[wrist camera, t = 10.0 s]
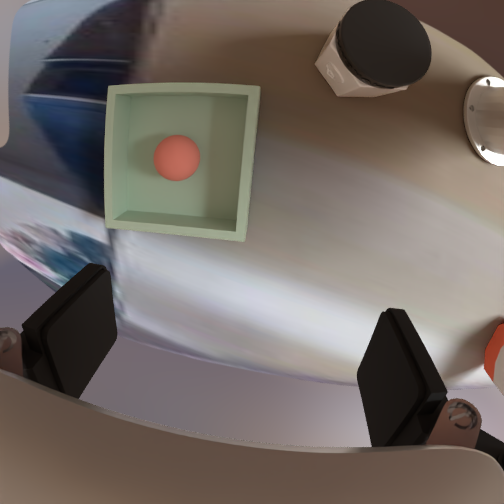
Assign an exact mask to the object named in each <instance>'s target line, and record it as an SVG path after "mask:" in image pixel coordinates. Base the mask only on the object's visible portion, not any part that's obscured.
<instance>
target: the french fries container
mask: <svg viewBox="0 0 504 504" xmlns="http://www.w3.org/2000/svg"><path fill="white" fill-rule="evenodd" d="M484 369H485V371H486V372H487V374H488V375H489V377H490V378H491V380H492V381H493V383H494V384H495V385H496V386H497V388H498V389H499V390H500V391H501V393H502V394H503V395H504V323H503V324H500V325H498V327H497V329H496V331H495V332H494V334H493V336H492V338H491V340H490V342H489V344H488V345H487V347H486V349H485V361H484Z"/></svg>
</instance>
